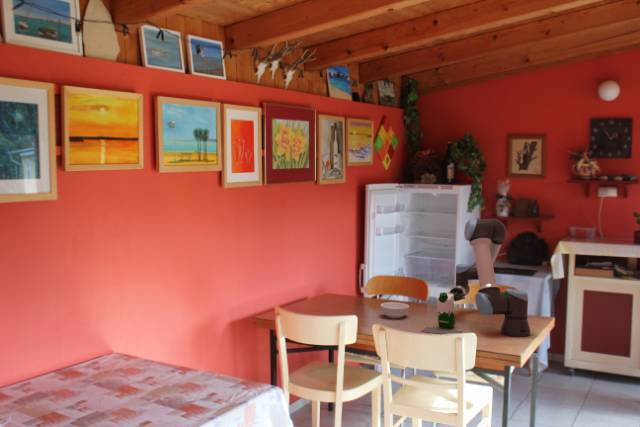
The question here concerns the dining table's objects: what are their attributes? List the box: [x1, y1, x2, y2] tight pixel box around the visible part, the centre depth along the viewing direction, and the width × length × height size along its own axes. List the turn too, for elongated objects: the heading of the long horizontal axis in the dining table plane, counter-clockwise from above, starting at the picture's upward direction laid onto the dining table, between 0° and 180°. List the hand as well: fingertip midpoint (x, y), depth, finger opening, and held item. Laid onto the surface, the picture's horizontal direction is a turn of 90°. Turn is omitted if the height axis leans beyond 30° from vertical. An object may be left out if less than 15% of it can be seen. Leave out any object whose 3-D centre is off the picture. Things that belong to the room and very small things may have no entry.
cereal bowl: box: [380, 301, 410, 319], centre depth 373 cm, size 17×17×7 cm
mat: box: [420, 326, 463, 335], centre depth 341 cm, size 20×10×1 cm, turn 63°
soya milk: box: [435, 292, 456, 330], centre depth 347 cm, size 9×9×20 cm
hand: (446, 301), depth 351 cm, fingers closed
